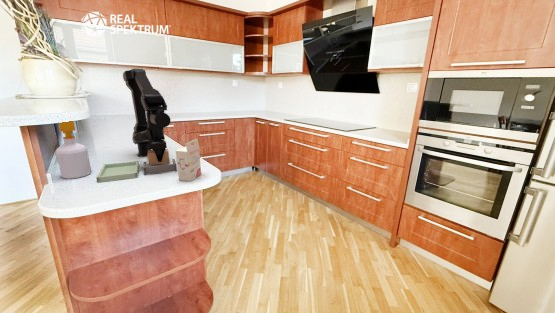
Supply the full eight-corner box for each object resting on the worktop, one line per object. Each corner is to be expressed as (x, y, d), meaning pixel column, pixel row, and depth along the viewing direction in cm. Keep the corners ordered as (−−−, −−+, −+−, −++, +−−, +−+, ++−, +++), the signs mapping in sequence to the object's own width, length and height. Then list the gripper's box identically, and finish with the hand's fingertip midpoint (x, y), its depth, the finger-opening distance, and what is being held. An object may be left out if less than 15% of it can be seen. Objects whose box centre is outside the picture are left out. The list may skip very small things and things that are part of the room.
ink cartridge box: (190, 172, 99) (187, 137, 95) (201, 173, 98) (199, 138, 94) (177, 180, 91) (174, 142, 87) (190, 181, 90) (186, 143, 86)
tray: (104, 168, 101) (103, 164, 101) (139, 165, 107) (138, 160, 106) (97, 182, 87) (96, 177, 87) (137, 177, 93) (136, 172, 92)
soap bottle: (89, 169, 100) (77, 108, 93) (93, 175, 94) (80, 110, 87) (60, 174, 94) (45, 109, 87) (63, 181, 88) (46, 112, 81)
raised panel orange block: (168, 155, 115) (167, 144, 114) (169, 162, 105) (168, 150, 104) (149, 157, 112) (148, 145, 110) (148, 165, 102) (147, 152, 101)
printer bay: (144, 168, 102) (143, 161, 102) (175, 165, 108) (174, 158, 107) (144, 175, 96) (143, 167, 95) (177, 171, 101) (176, 164, 100)
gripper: (134, 121, 106) (139, 156, 110) (131, 129, 90) (137, 169, 94) (162, 120, 111) (166, 153, 115) (164, 127, 95) (168, 165, 99)
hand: (159, 159), depth 106 cm, fingers closed on raised panel orange block, 5 cm apart
